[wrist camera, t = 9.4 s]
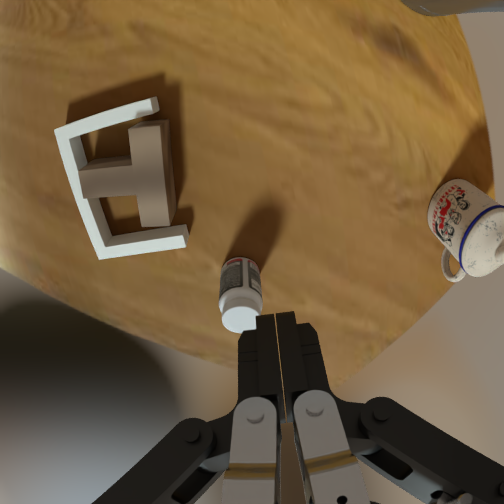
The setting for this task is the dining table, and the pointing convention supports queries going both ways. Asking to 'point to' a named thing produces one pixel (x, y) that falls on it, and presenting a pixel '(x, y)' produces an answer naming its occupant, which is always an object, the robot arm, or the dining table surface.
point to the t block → (138, 174)
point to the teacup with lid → (467, 228)
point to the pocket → (91, 207)
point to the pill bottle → (240, 294)
